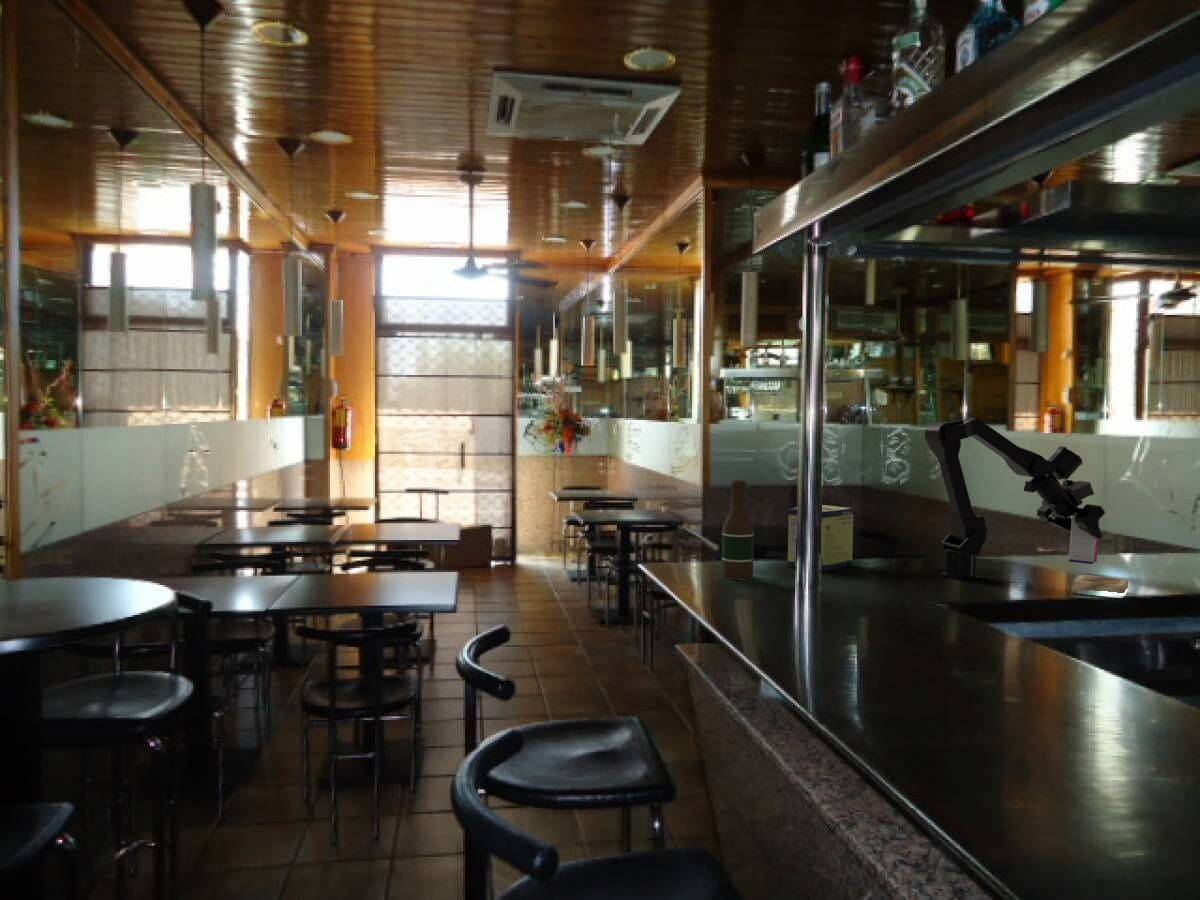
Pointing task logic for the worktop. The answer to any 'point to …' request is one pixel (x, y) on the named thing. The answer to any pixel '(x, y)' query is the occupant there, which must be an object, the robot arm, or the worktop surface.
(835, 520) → the protein box
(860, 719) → the worktop surface
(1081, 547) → the supplement box
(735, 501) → the beer bottle
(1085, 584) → the beech base block
